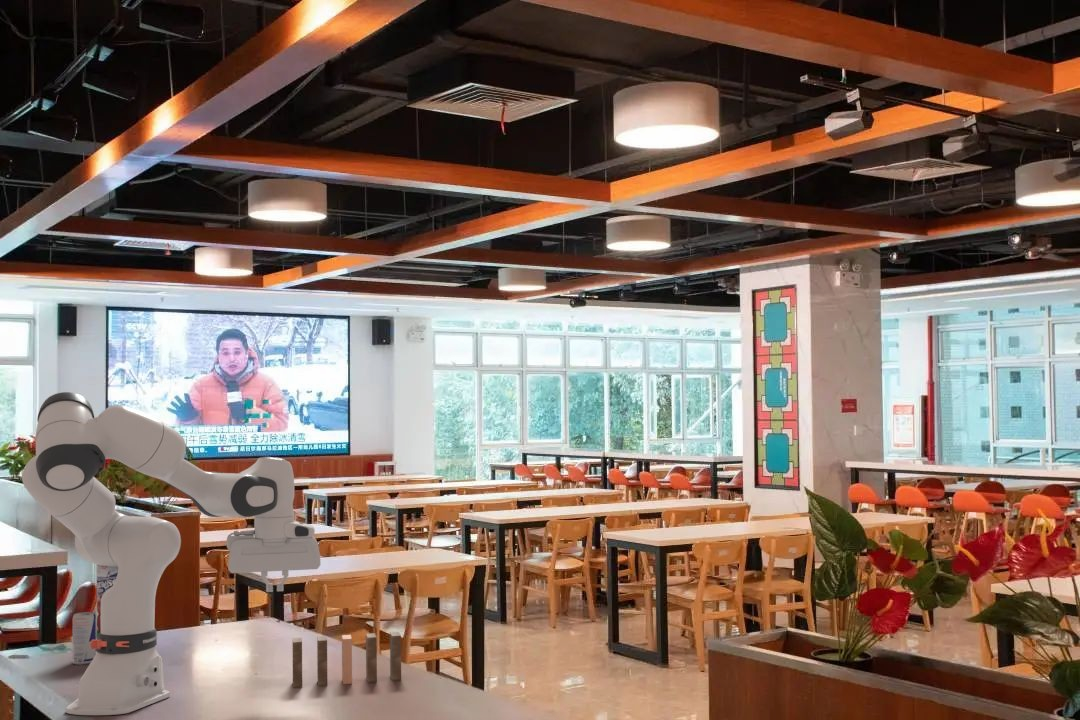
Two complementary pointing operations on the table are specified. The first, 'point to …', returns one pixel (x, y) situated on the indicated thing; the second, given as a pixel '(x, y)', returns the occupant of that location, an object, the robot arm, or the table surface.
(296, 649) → the domino
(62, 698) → the table surface
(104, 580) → the juice carton
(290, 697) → the table surface
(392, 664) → the domino
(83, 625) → the energy drink
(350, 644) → the domino
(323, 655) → the domino
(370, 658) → the domino
